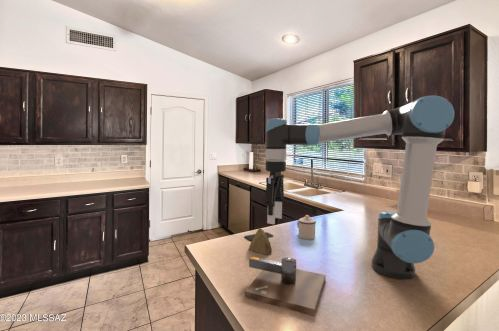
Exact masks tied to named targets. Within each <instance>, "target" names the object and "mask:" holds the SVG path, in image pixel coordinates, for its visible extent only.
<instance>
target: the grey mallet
mask: <svg viewBox="0 0 499 331" xmlns="http://www.w3.org/2000/svg"><path fill="white" fill-rule="evenodd" d="M248 267H249V268H250V269H251V268H252V269H257V270H259V271H260V270H261V271H262V270H265V271H270V272H274V273H279V274H281V281H282V282H284V283H286V284H293V283H295V282H296V269H297V259H296V258H294V257H291V256H289V257H287V256H286V257H283V258H281V262H279V261H273V260H270V259H263V258H260V257H256V256H250V258H249V259H248Z"/></svg>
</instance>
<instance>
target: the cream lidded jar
mask: <svg viewBox="0 0 499 331" xmlns="http://www.w3.org/2000/svg"><path fill="white" fill-rule="evenodd" d="M296 226H297V229H298V237H299V238H300V239H303V240H313V239H315V237H316V219H314V218H312V217H311V216H309V215H308V214H305V216H303V217H301V218H299V219H298V221H297V222H296Z"/></svg>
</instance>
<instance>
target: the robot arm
mask: <svg viewBox="0 0 499 331" xmlns="http://www.w3.org/2000/svg"><path fill="white" fill-rule="evenodd" d="M454 119H455V109H454V106H453V104H452V103H451V102H450V101H449V100H448V99H446V98H445V97H443V96H439V95H426V96H420V97H419V98H416V99H415V100H413V101H412V102H408V103H407V104H404V105H402V106H399V107H396V108H393V109H387V110H385V111H383V113H380V114H373V115H369V116H361V117H356V118H350V119H344V120H338V121H331V122H326V123H319V124H315V123H304V124H303V123H299V124H290V123H287V120H286V118H276V117H275V118H269V119H267V121H266V128H265V151H264V154H265V160H266V162H265V172H269V177H266V178H265V180H266V181H265V183H266V185H265V200H264V202H265V203H264V207H265V206H266V207H267V210H266V211H267V215H266V218H267V220H266V223H267V224H271V225H275V224H276V219H279V220H280V219H282V218H283V212H282V211H283V202H285V194H284V193H285V192H284V191H285V190H284V185H285V184H284V178H285V175H284V174H282V173H283V172H286V170H287V168H286V167H287V166H286V165H287V162H286V160H287V145H288V146H291V145H292V146H301V147H302V146H304V147H305V146H317V145H319V144H323V143H329V142H335V141H343V140H349V139H355V138H363V137H370V136H376V135H383V134H386V136H396V135H401V139H402V140H403V141H404V142H405V148H404V155H403V156H404V157H403V163H402V171H401V179H400V187H399V193H398V198H397V199H398V201H397V207H396V208H397V209H396V211H390V210H389V211H380V212H379V213H378V218H377V240H376V241H377V243H376V250H375V252H374V254H373V256H372V259H371V268H372V269H373V270H374V271H375V272H377V273H379V274H381V275H384V276H386V277H390V278H393V279H399V280H401V279H403V280H405V279H406V280H407V279H412V278H414V277H415V276H416V266H415V264H421V263H423V262H425V261H427V260H429V259H431V257H432V255H433V254H434V251H435V244H434V241H433V238H432V237H431V229H432V223H431V222H430V220H429V219H428V218H427V216H428V209H429V202H430V195H431V189H432V188H431V187H432V181H433V175H434V166H435V161H436V154H437V148H438V147H437V146H438V145H439V144H440V143H442V142H444V140H445V136H446V135H445V134H446V129H448V128H449V127H450V126H451V125H452V123H453V122H454Z"/></svg>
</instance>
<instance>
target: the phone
mask: <svg viewBox="0 0 499 331" xmlns="http://www.w3.org/2000/svg"><path fill="white" fill-rule="evenodd" d="M264 232H265V234H266V236H267V237H268V239H269V237H270V238H273V236H274V235H273V234H271V233H270V232H266V231H264ZM255 234H256V233H254V234H249V235H244V237H243V238H245V239H246V240H247V241H249V242H251V241H252V240H253V238H254V236H255Z"/></svg>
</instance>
